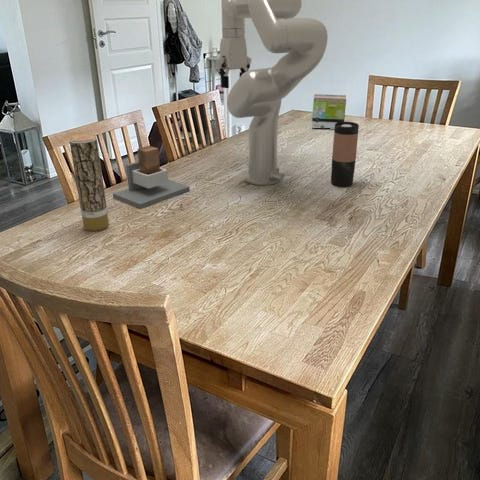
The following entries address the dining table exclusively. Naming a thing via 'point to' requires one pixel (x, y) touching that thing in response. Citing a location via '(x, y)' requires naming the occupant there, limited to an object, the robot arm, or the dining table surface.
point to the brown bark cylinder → (89, 181)
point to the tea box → (328, 110)
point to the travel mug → (344, 153)
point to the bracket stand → (148, 187)
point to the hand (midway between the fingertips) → (234, 85)
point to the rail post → (148, 160)
